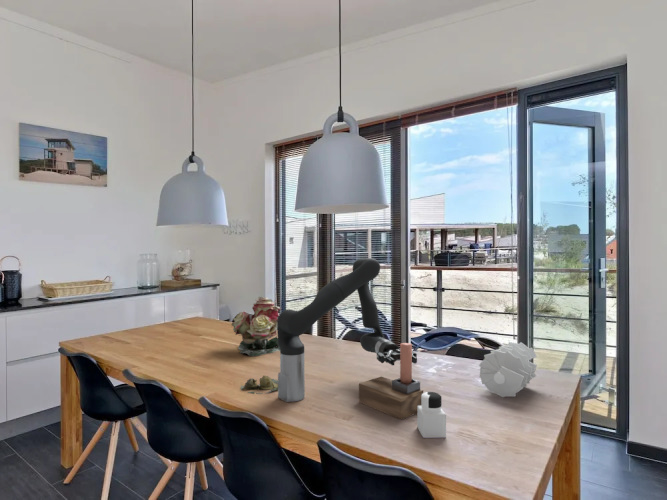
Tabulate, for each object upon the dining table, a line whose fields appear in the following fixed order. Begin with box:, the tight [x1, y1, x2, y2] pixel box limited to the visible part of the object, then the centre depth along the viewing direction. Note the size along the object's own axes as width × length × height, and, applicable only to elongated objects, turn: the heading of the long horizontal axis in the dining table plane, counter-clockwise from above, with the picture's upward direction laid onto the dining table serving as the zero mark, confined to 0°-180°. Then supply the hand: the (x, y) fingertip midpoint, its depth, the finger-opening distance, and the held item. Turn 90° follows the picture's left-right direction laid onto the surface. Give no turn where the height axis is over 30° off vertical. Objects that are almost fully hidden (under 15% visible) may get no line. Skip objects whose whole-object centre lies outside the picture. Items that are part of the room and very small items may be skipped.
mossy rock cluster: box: [240, 375, 278, 395], centre depth 165 cm, size 18×18×5 cm
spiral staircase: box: [478, 341, 538, 399], centre depth 160 cm, size 18×18×25 cm
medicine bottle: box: [416, 391, 447, 439], centre depth 123 cm, size 7×7×12 cm
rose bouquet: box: [231, 296, 282, 357], centre depth 223 cm, size 26×29×30 cm
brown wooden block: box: [358, 376, 424, 421], centre depth 144 cm, size 12×20×10 cm, turn 40°
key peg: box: [399, 342, 413, 384], centre depth 141 cm, size 4×4×16 cm
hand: (404, 361), depth 142 cm, fingers open, 8 cm apart
